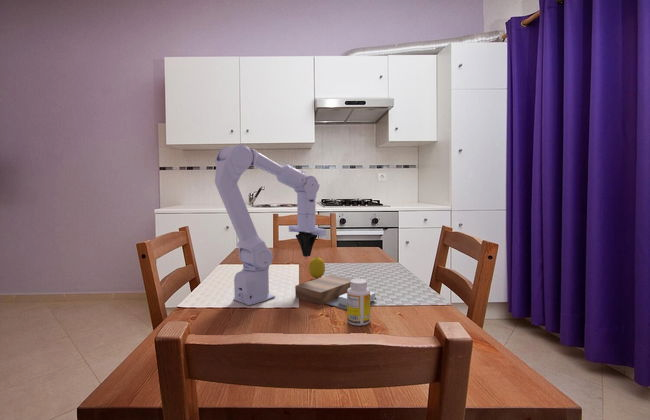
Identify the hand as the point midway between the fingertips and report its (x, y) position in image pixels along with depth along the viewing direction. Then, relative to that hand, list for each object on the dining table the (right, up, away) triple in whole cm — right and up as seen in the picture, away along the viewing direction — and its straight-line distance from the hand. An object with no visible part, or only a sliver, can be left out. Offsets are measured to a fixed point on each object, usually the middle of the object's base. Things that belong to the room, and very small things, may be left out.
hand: (306, 256), depth 119 cm
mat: (+13, -11, -13) cm, 22 cm away
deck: (+6, -11, -7) cm, 14 cm away
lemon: (+3, -9, +9) cm, 13 cm away
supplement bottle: (+14, -13, -29) cm, 34 cm away
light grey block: (+15, -9, -15) cm, 23 cm away
